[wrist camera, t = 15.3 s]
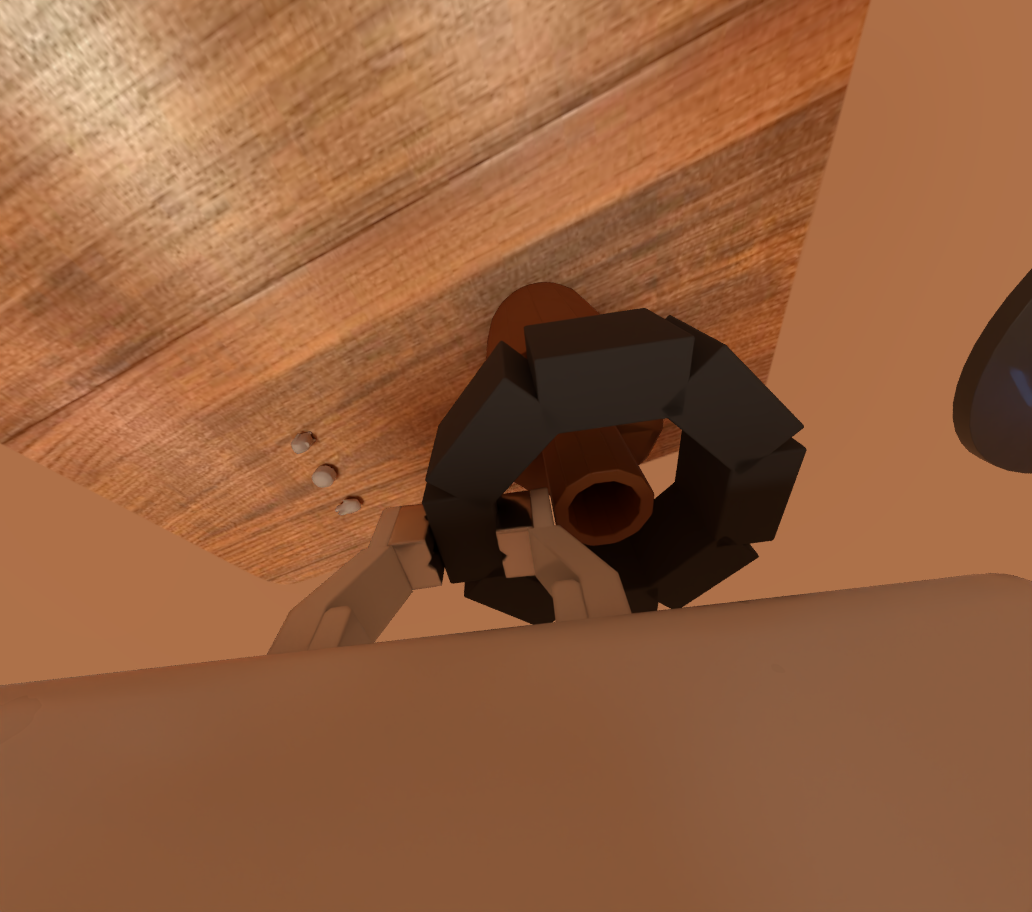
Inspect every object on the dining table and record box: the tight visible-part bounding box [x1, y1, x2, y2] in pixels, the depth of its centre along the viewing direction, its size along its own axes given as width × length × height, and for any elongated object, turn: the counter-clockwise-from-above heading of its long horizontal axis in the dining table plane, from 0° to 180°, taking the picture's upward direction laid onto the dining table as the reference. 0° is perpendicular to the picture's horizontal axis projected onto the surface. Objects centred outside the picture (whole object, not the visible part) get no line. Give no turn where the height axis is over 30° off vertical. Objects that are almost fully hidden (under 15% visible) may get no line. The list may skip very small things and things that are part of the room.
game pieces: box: [291, 432, 361, 515], centre depth 29 cm, size 8×2×2 cm, turn 13°
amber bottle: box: [486, 282, 663, 546], centre depth 17 cm, size 7×7×17 cm
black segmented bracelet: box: [422, 308, 806, 625], centre depth 11 cm, size 10×10×3 cm
